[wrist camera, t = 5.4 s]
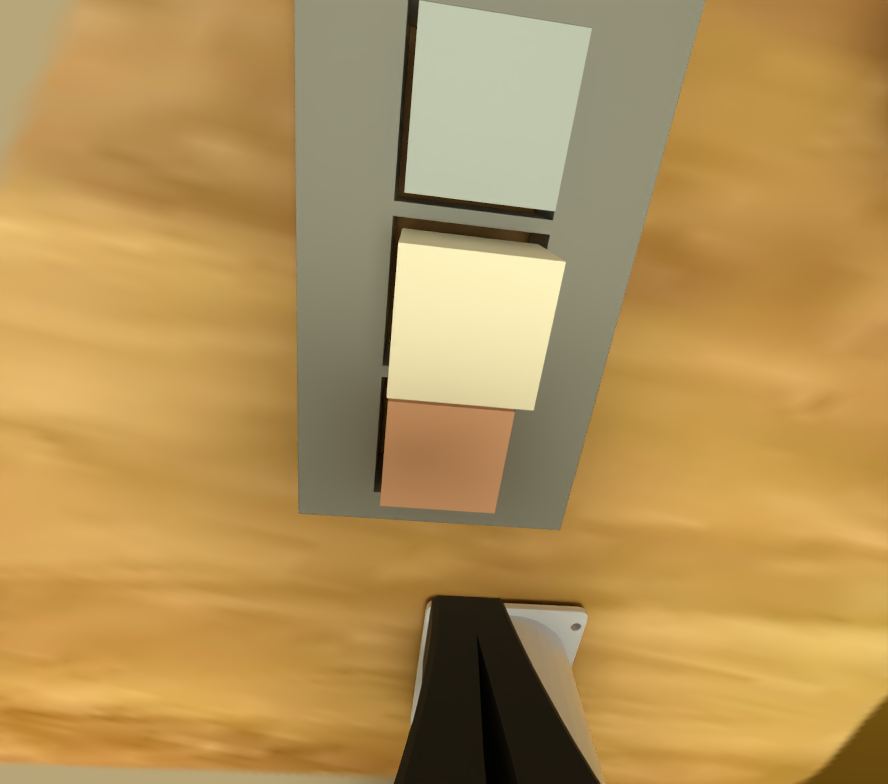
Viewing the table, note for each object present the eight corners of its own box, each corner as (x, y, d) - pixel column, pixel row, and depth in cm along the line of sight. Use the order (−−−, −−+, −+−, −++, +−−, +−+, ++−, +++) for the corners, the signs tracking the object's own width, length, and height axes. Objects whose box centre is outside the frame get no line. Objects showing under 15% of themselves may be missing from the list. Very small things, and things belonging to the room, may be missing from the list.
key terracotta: (484, 465, 20) (494, 513, 17) (385, 458, 19) (379, 505, 17) (500, 375, 18) (515, 411, 15) (393, 365, 18) (387, 401, 15)
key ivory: (514, 369, 16) (533, 410, 13) (392, 357, 16) (386, 398, 13) (538, 243, 14) (566, 261, 12) (402, 227, 14) (398, 242, 11)
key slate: (531, 203, 16) (554, 211, 13) (407, 188, 15) (404, 192, 12) (558, 55, 14) (592, 28, 11) (419, 34, 14) (419, 0, 11)
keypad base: (544, 491, 21) (559, 530, 19) (312, 474, 20) (298, 513, 18) (662, 14, 14) (709, -15, 12) (315, -44, 13) (294, -87, 11)
